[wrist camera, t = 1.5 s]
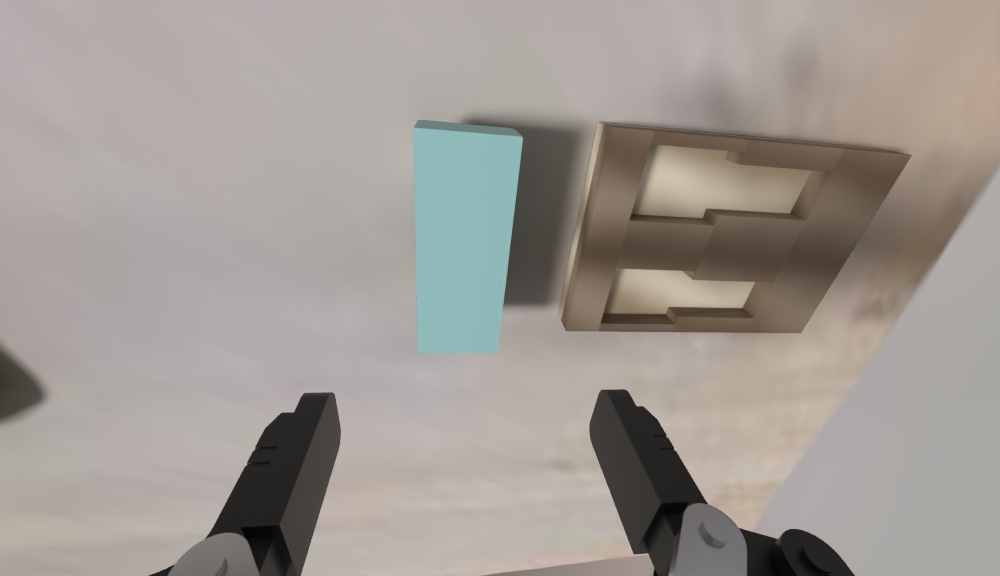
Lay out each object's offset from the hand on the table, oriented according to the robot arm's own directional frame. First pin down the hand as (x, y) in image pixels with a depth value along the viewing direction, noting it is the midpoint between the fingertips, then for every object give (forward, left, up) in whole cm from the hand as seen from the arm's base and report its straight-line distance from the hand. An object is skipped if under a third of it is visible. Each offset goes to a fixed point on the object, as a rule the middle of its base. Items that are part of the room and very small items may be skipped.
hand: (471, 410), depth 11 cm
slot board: (0, +18, -16) cm, 24 cm away
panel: (0, 0, -16) cm, 16 cm away
